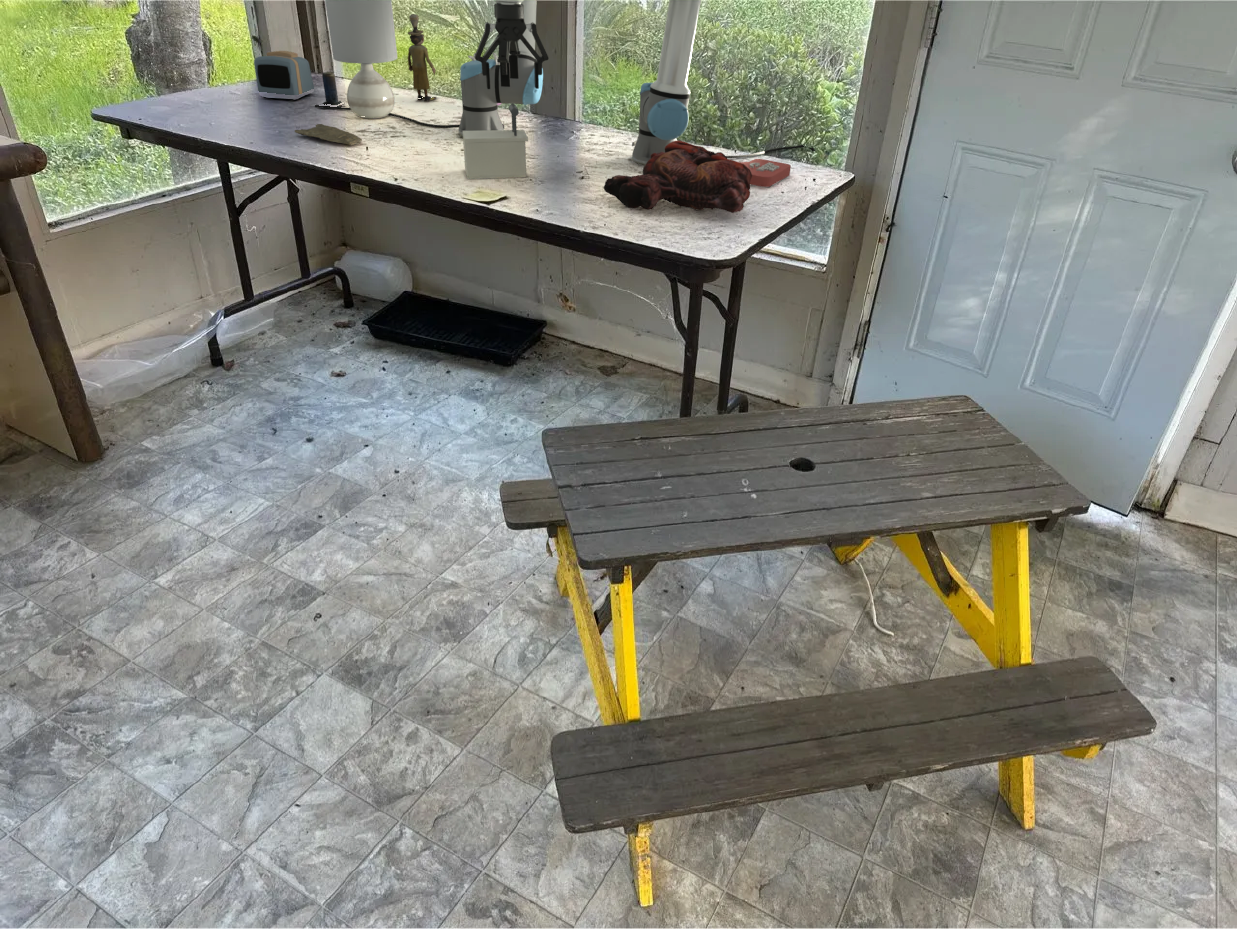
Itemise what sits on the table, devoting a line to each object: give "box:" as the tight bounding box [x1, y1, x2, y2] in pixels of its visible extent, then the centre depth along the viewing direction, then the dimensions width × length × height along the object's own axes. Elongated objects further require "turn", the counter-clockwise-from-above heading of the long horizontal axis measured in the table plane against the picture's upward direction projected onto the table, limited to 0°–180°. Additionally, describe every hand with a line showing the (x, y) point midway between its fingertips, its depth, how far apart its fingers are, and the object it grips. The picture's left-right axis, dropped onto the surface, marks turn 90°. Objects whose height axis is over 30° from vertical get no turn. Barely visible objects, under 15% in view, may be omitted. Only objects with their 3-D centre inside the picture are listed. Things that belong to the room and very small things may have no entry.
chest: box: [462, 137, 527, 180], centre depth 248 cm, size 17×9×10 cm, turn 103°
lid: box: [463, 104, 529, 143], centre depth 243 cm, size 18×9×9 cm, turn 103°
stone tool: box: [294, 123, 363, 146], centre depth 277 cm, size 11×3×25 cm
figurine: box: [407, 13, 437, 102], centre depth 324 cm, size 11×9×30 cm
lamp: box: [324, 0, 398, 120], centre depth 295 cm, size 22×22×40 cm
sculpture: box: [603, 139, 752, 214], centre depth 228 cm, size 43×30×13 cm
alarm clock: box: [253, 50, 315, 95], centre depth 326 cm, size 16×16×16 cm
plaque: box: [739, 158, 792, 188], centre depth 254 cm, size 18×4×15 cm
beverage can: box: [320, 71, 345, 109], centre depth 314 cm, size 9×8×12 cm
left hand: (510, 82), depth 257 cm, fingers open, 13 cm apart
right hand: (512, 88), depth 239 cm, fingers open, 13 cm apart
